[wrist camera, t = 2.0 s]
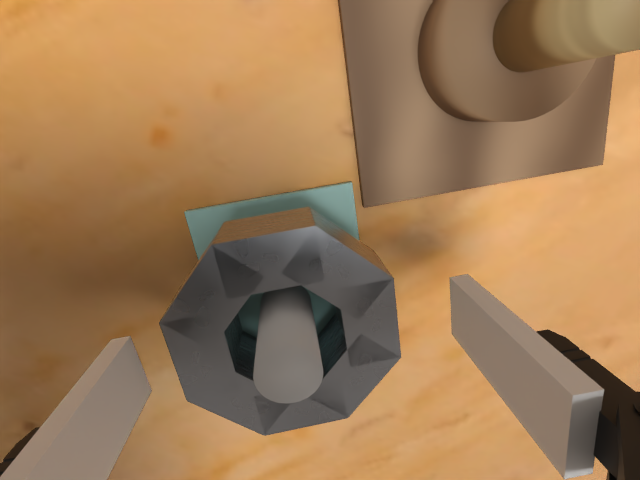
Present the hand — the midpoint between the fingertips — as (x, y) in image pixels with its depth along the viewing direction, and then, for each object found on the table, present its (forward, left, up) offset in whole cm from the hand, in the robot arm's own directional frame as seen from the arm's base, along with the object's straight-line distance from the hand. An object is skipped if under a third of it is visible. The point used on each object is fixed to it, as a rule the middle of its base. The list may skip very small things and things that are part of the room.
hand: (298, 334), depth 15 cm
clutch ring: (0, 0, -3) cm, 3 cm away
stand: (0, 0, -7) cm, 7 cm away
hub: (+12, +10, -7) cm, 17 cm away
